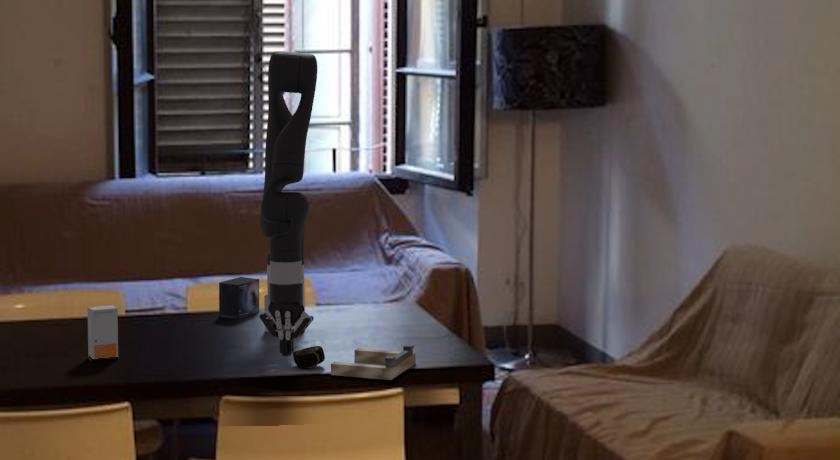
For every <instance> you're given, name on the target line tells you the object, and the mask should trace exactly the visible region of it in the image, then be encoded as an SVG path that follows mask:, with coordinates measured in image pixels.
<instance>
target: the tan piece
mask: <svg viewBox="0 0 840 460" xmlns="http://www.w3.org/2000/svg"><path fill="white" fill-rule="evenodd" d="M402 347H403V348H402V349H403V350H401V351H399V350H398V351H397V350H387V349H386V350H385V349H384V350H383V349H373V348H358V347H357V348H355V349H354V361H355V362H363V361H368V362H367V363H375V362H377V363H379V364H385V365H379V364H367V363H365V364H364V363H354V362H353V363H352V362H341V361H333V362H332V363H330V375H331V376H341V377H350V378H351V377H352V378H363V379H374V380H386V381H392V380H394V379H395V378H397V377H399V375H401V374H402V373H404V372H405V371H407V370H409V369H410V368H411V367H413V366H414V365H415V364H416V352H414V344H405V345H403V346H402Z"/></svg>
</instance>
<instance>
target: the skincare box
mask: <svg viewBox="0 0 840 460" xmlns="http://www.w3.org/2000/svg"><path fill="white" fill-rule="evenodd" d="M118 316H119V315H118V307H116V306H115V305H111V304H110V305H98V306H89V307H87V341H88V342H87V345H88V346H87V347H88V349H87V350H88V351H87V352H88V357H89V356H90V357H91V358H92V359H98V358H109V357H118V358H119V336H118V335H119V328H118V327H119V324H118V320H119V318H118Z"/></svg>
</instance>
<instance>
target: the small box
mask: <svg viewBox="0 0 840 460" xmlns="http://www.w3.org/2000/svg"><path fill="white" fill-rule="evenodd" d="M218 284H219V285H218V313H219V314H218V317H219V318H227V319H232V320H233V319H234V320H240V319H242V318H246V317H248V316H252V315H254V314H257V313H259V312H260V279H258V278H253V277H247V276H246V277H245V276H239V277H235V278H232V279H227V280H224V281H220V282H218Z"/></svg>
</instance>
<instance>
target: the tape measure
mask: <svg viewBox="0 0 840 460" xmlns="http://www.w3.org/2000/svg"><path fill="white" fill-rule="evenodd" d="M325 355H326V354H325V351H324V349H323V347H322V346H320V345H314V346H309V347H306V348H302V349H299V350H296V351H293V353H292V357H293V361H294V363H295V365H296V367H297V368H299V369H305V368H306V369H307V368H308V369H311V368H315V367H318V365H320V364H321V363H323V362H324V361H325V359H326V357H325Z"/></svg>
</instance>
